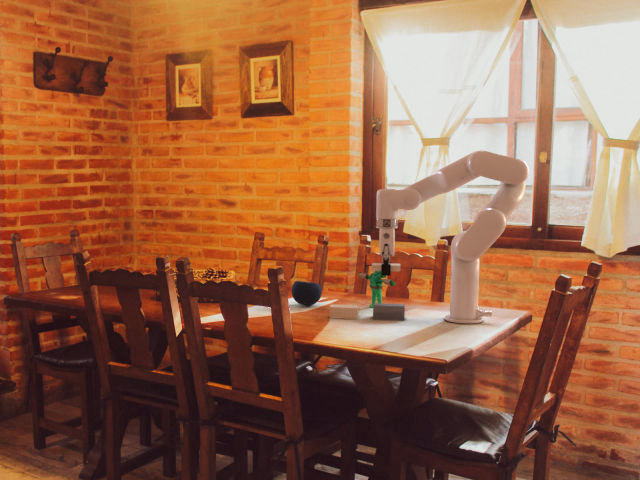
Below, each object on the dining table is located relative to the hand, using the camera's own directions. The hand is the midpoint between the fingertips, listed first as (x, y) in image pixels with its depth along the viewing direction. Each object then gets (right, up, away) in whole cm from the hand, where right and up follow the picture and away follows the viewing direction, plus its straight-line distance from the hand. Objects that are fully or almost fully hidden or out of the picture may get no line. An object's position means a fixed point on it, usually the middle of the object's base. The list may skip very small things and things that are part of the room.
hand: (386, 273), depth 267 cm
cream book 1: (-14, -14, +5) cm, 20 cm away
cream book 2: (-14, -16, +5) cm, 22 cm away
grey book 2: (+1, -16, +2) cm, 16 cm away
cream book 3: (0, +1, 0) cm, 1 cm away
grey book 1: (+1, -14, +1) cm, 14 cm away
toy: (+1, -14, +22) cm, 26 cm away
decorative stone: (-26, -13, +28) cm, 40 cm away
